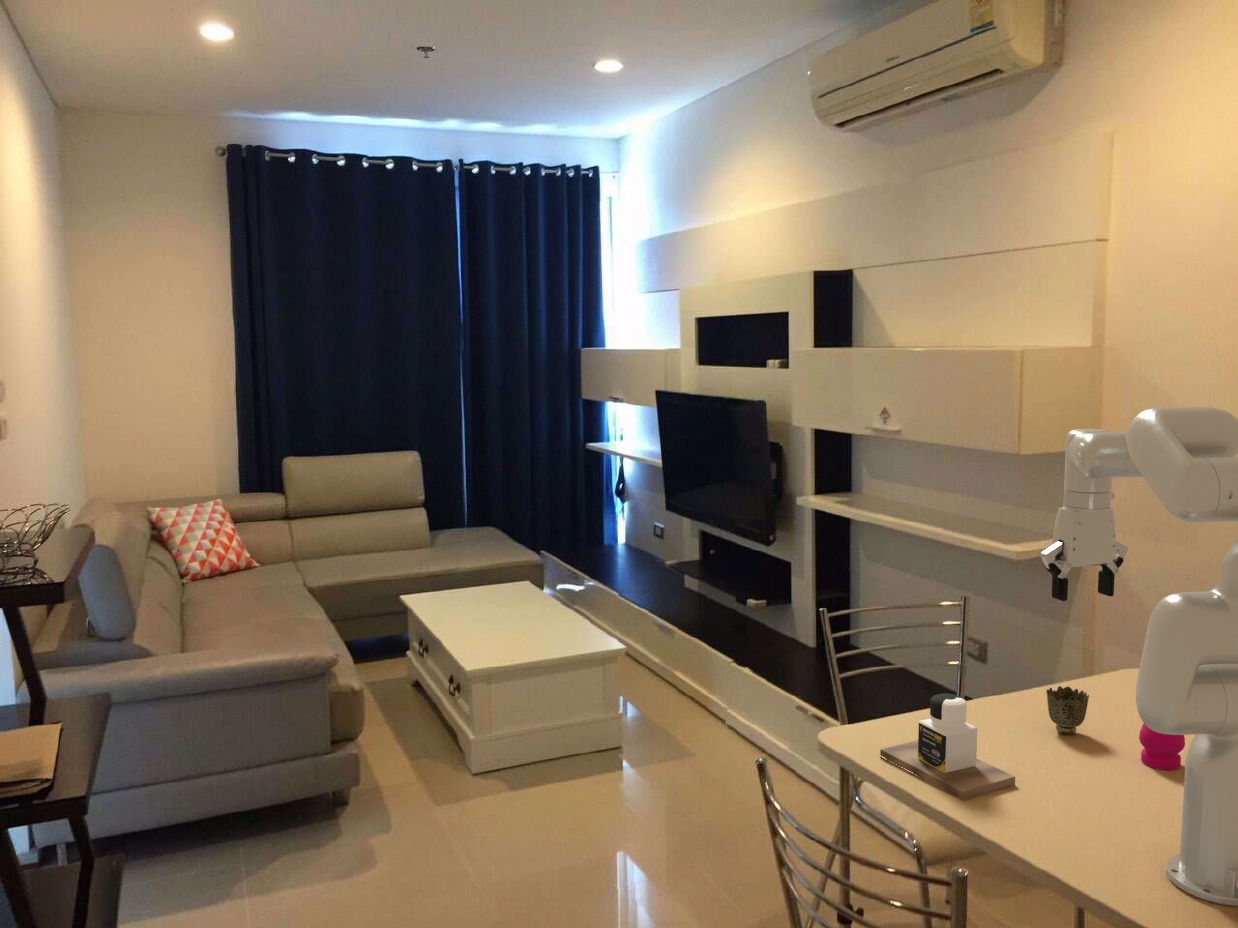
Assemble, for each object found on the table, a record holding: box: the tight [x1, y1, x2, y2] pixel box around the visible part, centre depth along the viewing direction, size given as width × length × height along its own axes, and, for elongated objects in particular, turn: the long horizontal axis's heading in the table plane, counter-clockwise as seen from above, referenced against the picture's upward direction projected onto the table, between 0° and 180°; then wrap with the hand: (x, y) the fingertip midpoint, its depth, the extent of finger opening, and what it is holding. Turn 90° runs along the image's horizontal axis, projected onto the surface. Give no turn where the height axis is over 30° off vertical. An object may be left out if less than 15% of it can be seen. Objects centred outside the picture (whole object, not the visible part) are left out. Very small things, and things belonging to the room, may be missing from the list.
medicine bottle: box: [917, 692, 978, 773], centre depth 181 cm, size 7×7×12 cm
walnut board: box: [879, 739, 1016, 801], centre depth 182 cm, size 20×12×2 cm, turn 27°
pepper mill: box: [1138, 723, 1186, 771], centre depth 183 cm, size 7×7×20 cm
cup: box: [1046, 685, 1090, 736], centre depth 198 cm, size 8×7×8 cm
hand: (1082, 596), depth 181 cm, fingers open, 9 cm apart
